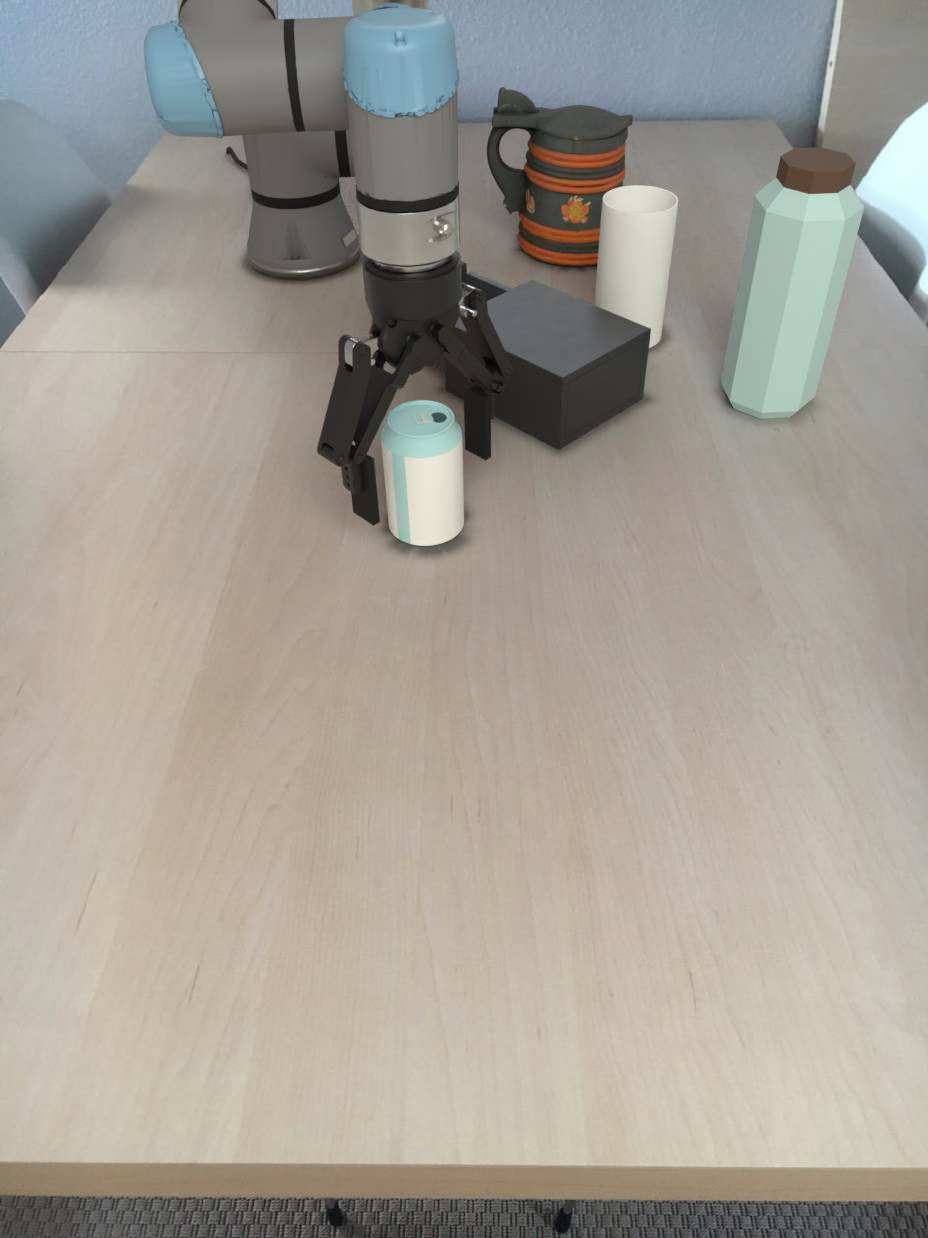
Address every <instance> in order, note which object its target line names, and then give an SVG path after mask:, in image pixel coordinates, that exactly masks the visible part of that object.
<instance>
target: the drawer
mask: <svg viewBox="0 0 928 1238" xmlns="http://www.w3.org/2000/svg"><path fill="white" fill-rule="evenodd" d="M467 265H468V264H467V262H464V261H462V260H461V274H462V282H464V283H466V284H469V285H471V286H473V287H476V288H478V289H480V290H482V291H485V293H486V297H487V301H488V300H490V299H493V298H495V297H497V296H499V295H501V294H503V293H505V292H507V291H509V290H511V289H512V288H510V287H509V286H506V285H504V284H502V283H499V282H497V281H495V280H493V279H490V278H488V277H485V276H483V275H481V274H478V273H476V272H473V271H471V270H470V271H468V266H467ZM432 366H435V367H437V368H439V369H441V370H443V371H445V357H444V356H443V355H442V356H441V357H440V361H439V362H437V363H435V364H433V365H432Z"/></svg>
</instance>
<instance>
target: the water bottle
mask: <svg viewBox="0 0 928 1238" xmlns="http://www.w3.org/2000/svg"><path fill="white" fill-rule="evenodd" d="M856 165H857V162H856V161H854V159H853V158H852V157H851V156H850V155H849V154H848V153H847V152H842V151H838V150H834V149H831V148H826V147H795V148H793V149H790V150H788V151H787V152H784V153H783V154H781V155H780V156H779V161H778V166H777V170H776V175H775V177H774V178H773V179H772V180H771V181H770V182H768V183H767V184H766V185H765V186H764V187H762V188H761V189H760V190H759V191H758V192H757V193H755V194H754V196H753V197H754V198H753V202H752V208H751V213H750V219H749V225H748V229H747V234H746V235H747V236H746V239H745V240H746V241H745V247H744V252H743V257H742V263H741V268H740V273H739V280H738V285H737V291H736V296H735V302H734V306H733V313H732V317H731V324H730V328H729V334H728V340H727V345H726V351H725V356H724V361H723V366H722V373H721V378H720V383H721V385H722V387H723V389H724V392H725V394H726V396H727V398H728V401H729V402H730V404H731V406H732V408H733V409H734V410H735V411H736V410H737V411H739V412H742V413H743V414H747V415H749V416H752V417H754V418H756V419H759V420H768V419H789V418H792V417H793V416H794V415H795V414H796V413H797V412H799V411H800V410H801V409H802V408H803V407H805V406H806V405H807V404H808V403H810V401H811V400H813V399H814V398H815V397H816V395H817V392H818V387H819V383H820V379H821V376H822V371H823V368H824V365H825V364H824V363H825V360H826V356H827V353H828V349H829V344H830V342H831V337H832V333H833V329H834V325H835V323H836V318H837V314H838V310H839V306H840V302H841V298H842V294H843V291H844V287H845V283H846V280H847V275H848V271H849V268H850V264H851V261H852V256H853V252H854V249H855V245H856V241H857V238H858V234H859V229H860V226H861V222H862V218H863V215H864V210H865V206H864V204H863V202H862V201H861V199H860V198H859V196H858V195H857V193H856V191H855V189H854V188H853V186H852V185H851V184H852V180H853V176H854V173H855V169H856Z"/></svg>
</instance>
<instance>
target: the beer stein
mask: <svg viewBox="0 0 928 1238" xmlns="http://www.w3.org/2000/svg"><path fill="white" fill-rule="evenodd" d="M492 112H493V114H492V117H491V126H492V128H491V130H490V133H489V135H488V138H487V143H486V159H487V165H488V167H489V171H490V174H491V175H492V177H493V179H494V182H495V184H496V186H497V187H498V188H499V190H500V192H501V193H502V195H503V196H504V199H503V201H502V206H503V207H504V209H505V210H507V211H508V213H509V216H511V215H512V214H513V213H515V212H518V218H519V222H518V225H517V227H518V233H517V238H518V242H519V245H520V248H521V249H522V251H523V252H524V253H525V254H526V255H529V256H530V258H532V259H534V260H537V261H539V262H542V263H546V264H550V265H556V266H565V267H581V268H584V267H592V266H597V264H598V250H599V237H600V224H601V211H602V200H603V196H604V194H605V193H607V192H608V191H610V190H612V189H615V188H618V187H623V186H624V180H625V177H626V143H627V142H626V141H627V140H628V136H629V130H628V129H629V128H628V127H630V126H632V125H633V121H634V116H633V115H632V114H625V115H619V114H616V113H615V112H613V111H610V110H607V109H605V108H601V107H597V106H592V105H585V104H573V105H566V106H561V107H557V108H549V107H544V106H543V107H542V106H541V107H540V106H537V107H536V105H535V103H534V102H533V100H532V99H531V98H530V97H529V96H528V95H526V94H524V93H522V92H521V91H518V90H515V89H507V88H505V87H504V86H501V87H500V88H499V90H498V96H497V105H496V106H494V107H493V108H492ZM515 129H518V130H524V131H526V132H527V133H528V134H529V138H528V141H527V145H526V146H527V148H528V150H527V151H526V152H525V160H526V161H525V163H524V164H523V165H524V166H523V169H522V168H516V167H512V166H510V165H509V164H507V163H506V162H505V161H504V160H503V159H502V157H501V151H500V144H501V142H502V141H501V140H502V138H503V137H504V136H505V134H506V133H507V132H509V131H512V130H515Z"/></svg>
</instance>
